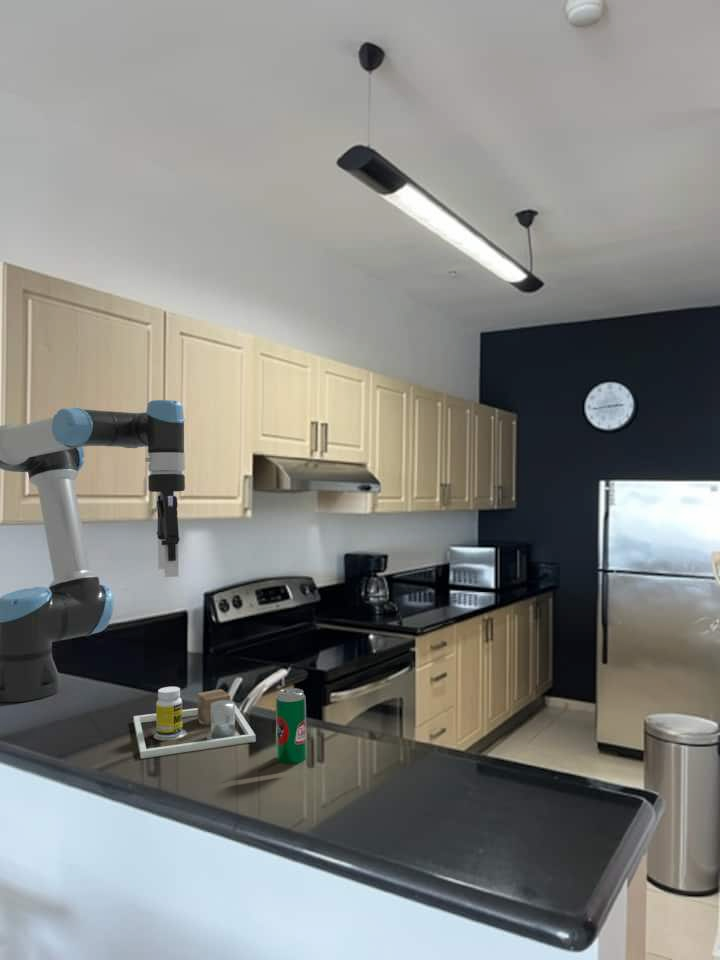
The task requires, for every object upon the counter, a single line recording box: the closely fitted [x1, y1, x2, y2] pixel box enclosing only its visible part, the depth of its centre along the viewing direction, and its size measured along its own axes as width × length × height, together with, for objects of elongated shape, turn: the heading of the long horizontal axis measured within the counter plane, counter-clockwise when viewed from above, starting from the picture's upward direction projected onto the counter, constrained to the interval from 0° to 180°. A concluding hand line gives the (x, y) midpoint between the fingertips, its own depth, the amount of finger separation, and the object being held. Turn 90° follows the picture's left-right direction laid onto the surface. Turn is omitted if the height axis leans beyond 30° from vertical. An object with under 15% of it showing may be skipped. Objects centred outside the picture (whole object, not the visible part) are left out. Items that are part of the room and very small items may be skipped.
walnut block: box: [197, 688, 231, 726], centre depth 142 cm, size 5×5×5 cm
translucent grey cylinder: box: [210, 699, 236, 739], centre depth 132 cm, size 4×4×6 cm
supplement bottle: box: [155, 686, 183, 738], centre depth 134 cm, size 5×5×8 cm
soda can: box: [275, 687, 308, 765], centre depth 122 cm, size 5×5×12 cm
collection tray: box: [133, 704, 257, 760], centre depth 135 cm, size 20×20×2 cm
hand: (168, 572), depth 152 cm, fingers open, 13 cm apart
